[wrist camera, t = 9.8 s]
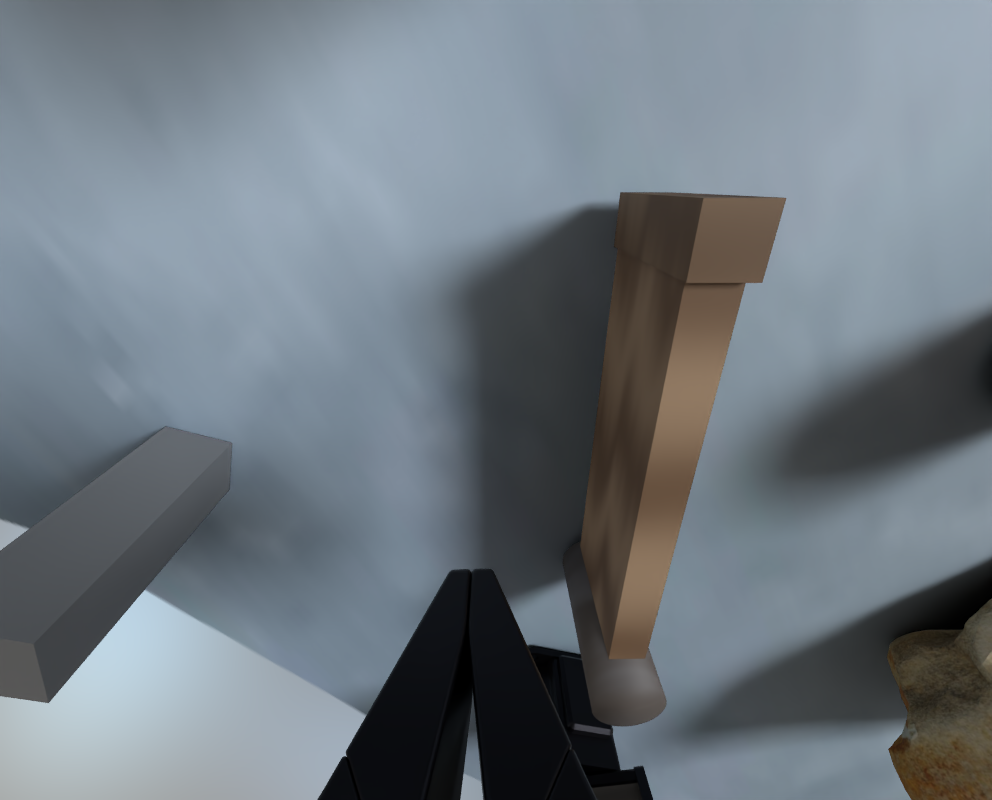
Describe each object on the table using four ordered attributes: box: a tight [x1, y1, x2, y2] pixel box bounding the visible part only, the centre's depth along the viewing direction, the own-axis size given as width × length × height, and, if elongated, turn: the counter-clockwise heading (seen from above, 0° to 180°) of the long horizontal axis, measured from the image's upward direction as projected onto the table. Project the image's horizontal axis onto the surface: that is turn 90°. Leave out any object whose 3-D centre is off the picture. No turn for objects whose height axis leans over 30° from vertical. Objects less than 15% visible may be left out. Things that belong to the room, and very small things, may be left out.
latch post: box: [0, 427, 232, 703], centre depth 16 cm, size 3×3×10 cm
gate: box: [563, 192, 786, 726], centre depth 16 cm, size 20×3×8 cm, turn 0°
